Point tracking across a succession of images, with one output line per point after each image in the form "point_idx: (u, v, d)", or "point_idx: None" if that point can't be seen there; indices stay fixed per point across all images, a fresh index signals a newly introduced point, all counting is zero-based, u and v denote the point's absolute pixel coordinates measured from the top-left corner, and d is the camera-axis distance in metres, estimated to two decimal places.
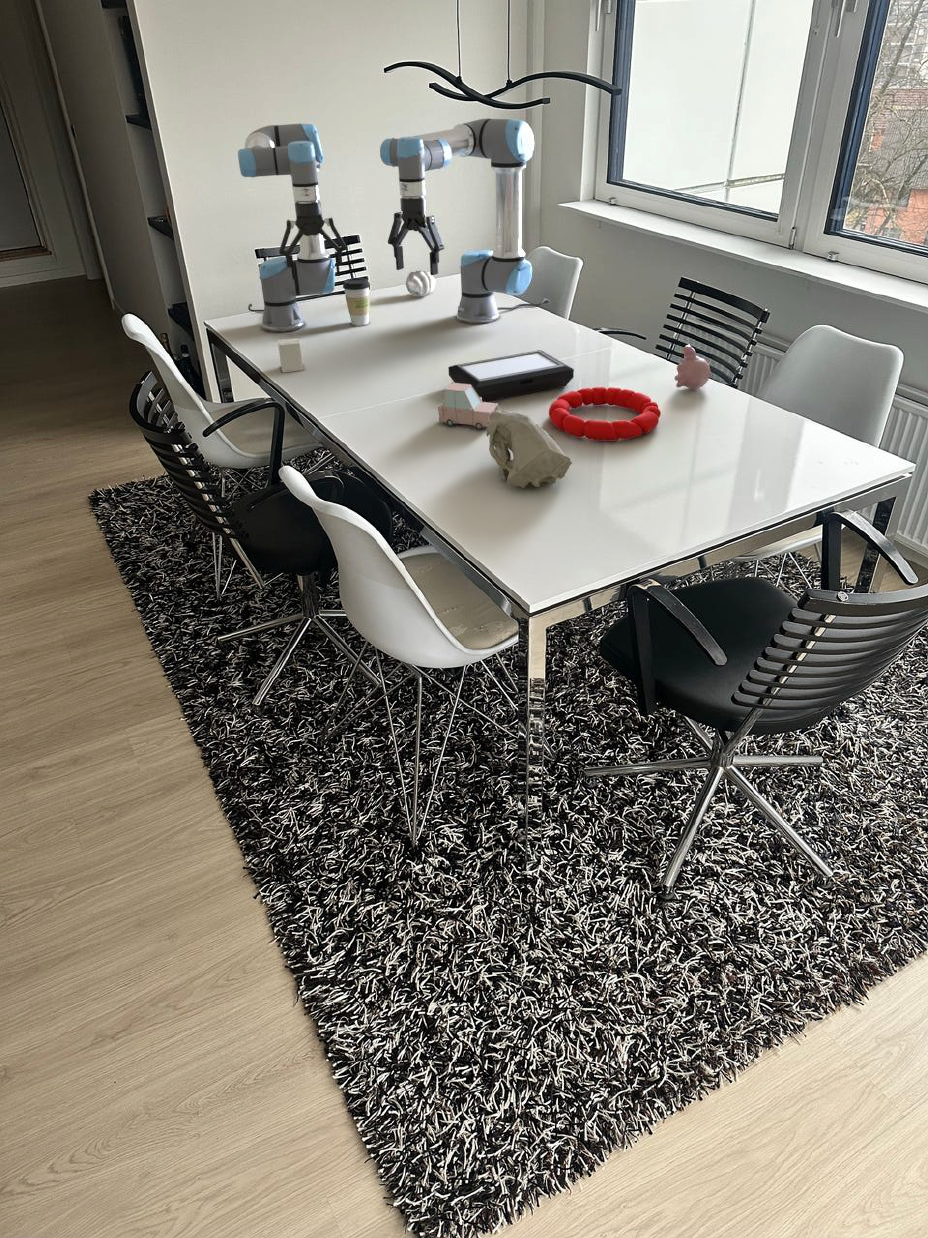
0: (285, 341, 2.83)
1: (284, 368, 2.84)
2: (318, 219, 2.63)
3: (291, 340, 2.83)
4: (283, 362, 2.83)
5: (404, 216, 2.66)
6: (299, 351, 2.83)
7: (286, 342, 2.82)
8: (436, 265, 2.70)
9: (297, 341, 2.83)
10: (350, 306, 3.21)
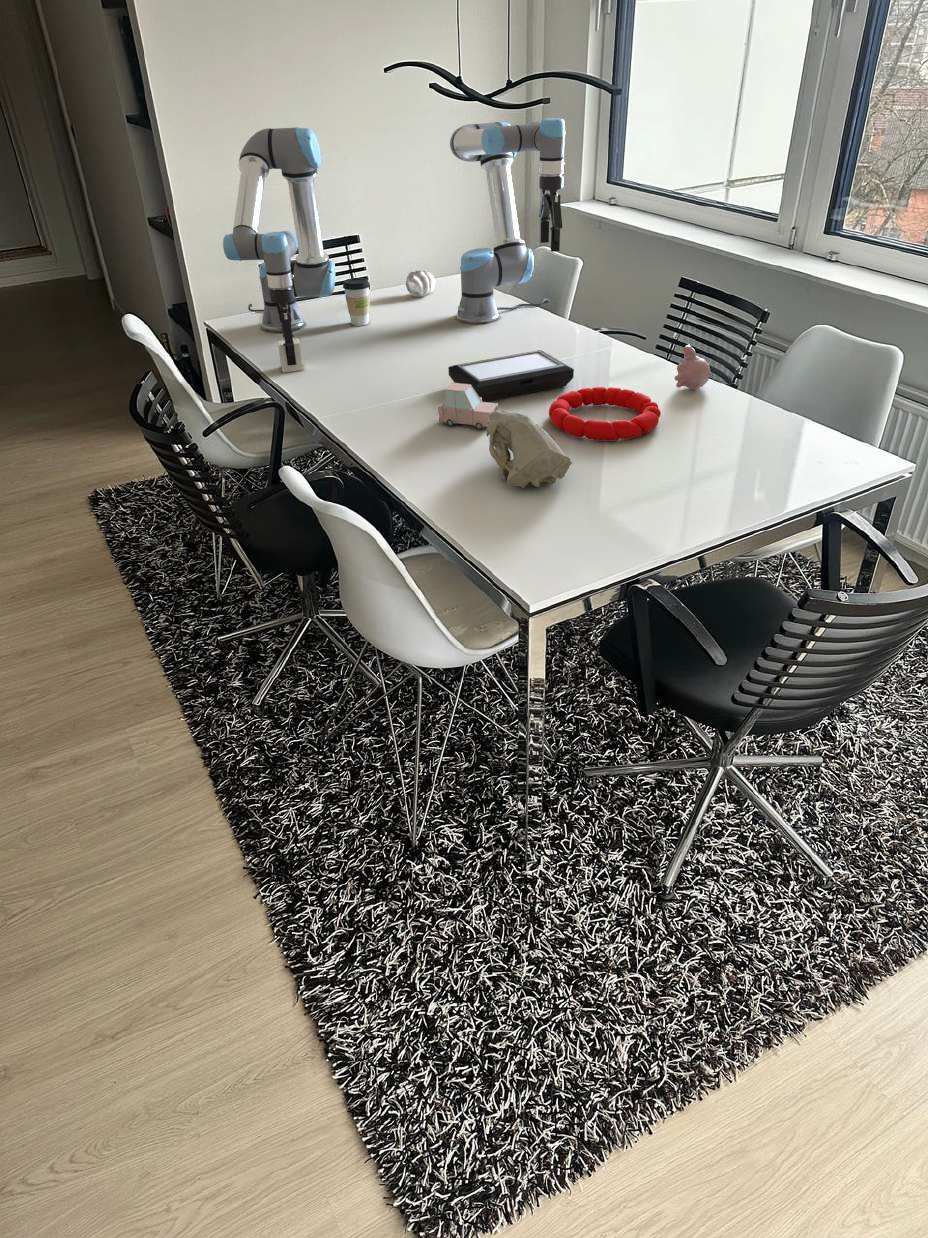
0: None
1: (284, 368, 2.84)
2: None
3: None
4: (283, 362, 2.83)
5: None
6: (299, 351, 2.83)
7: None
8: None
9: (297, 341, 2.83)
10: (350, 306, 3.21)
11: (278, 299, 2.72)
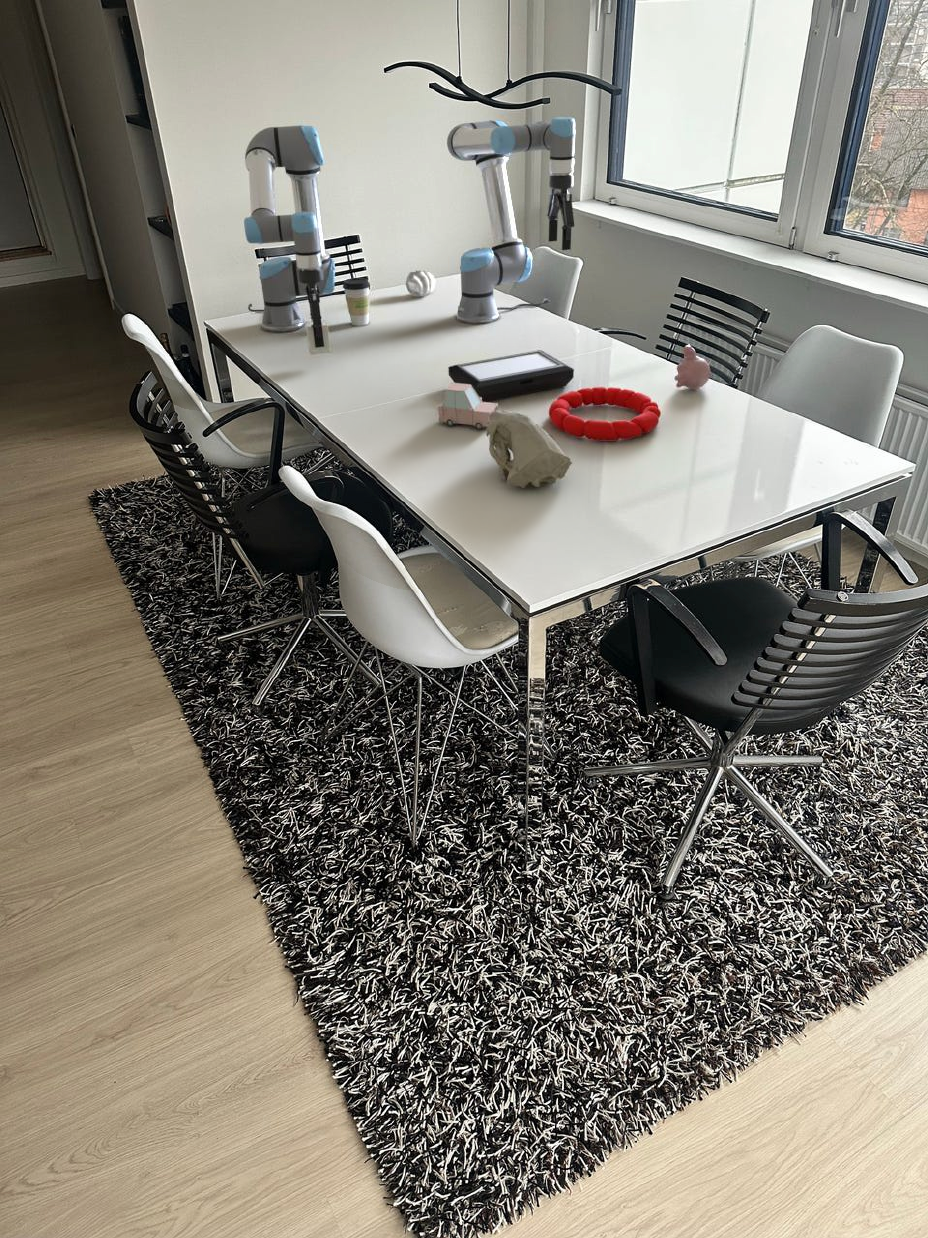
0: None
1: (312, 350, 2.82)
2: None
3: None
4: (311, 344, 2.81)
5: None
6: (327, 333, 2.80)
7: None
8: None
9: (325, 323, 2.81)
10: (350, 306, 3.21)
11: (307, 280, 2.70)
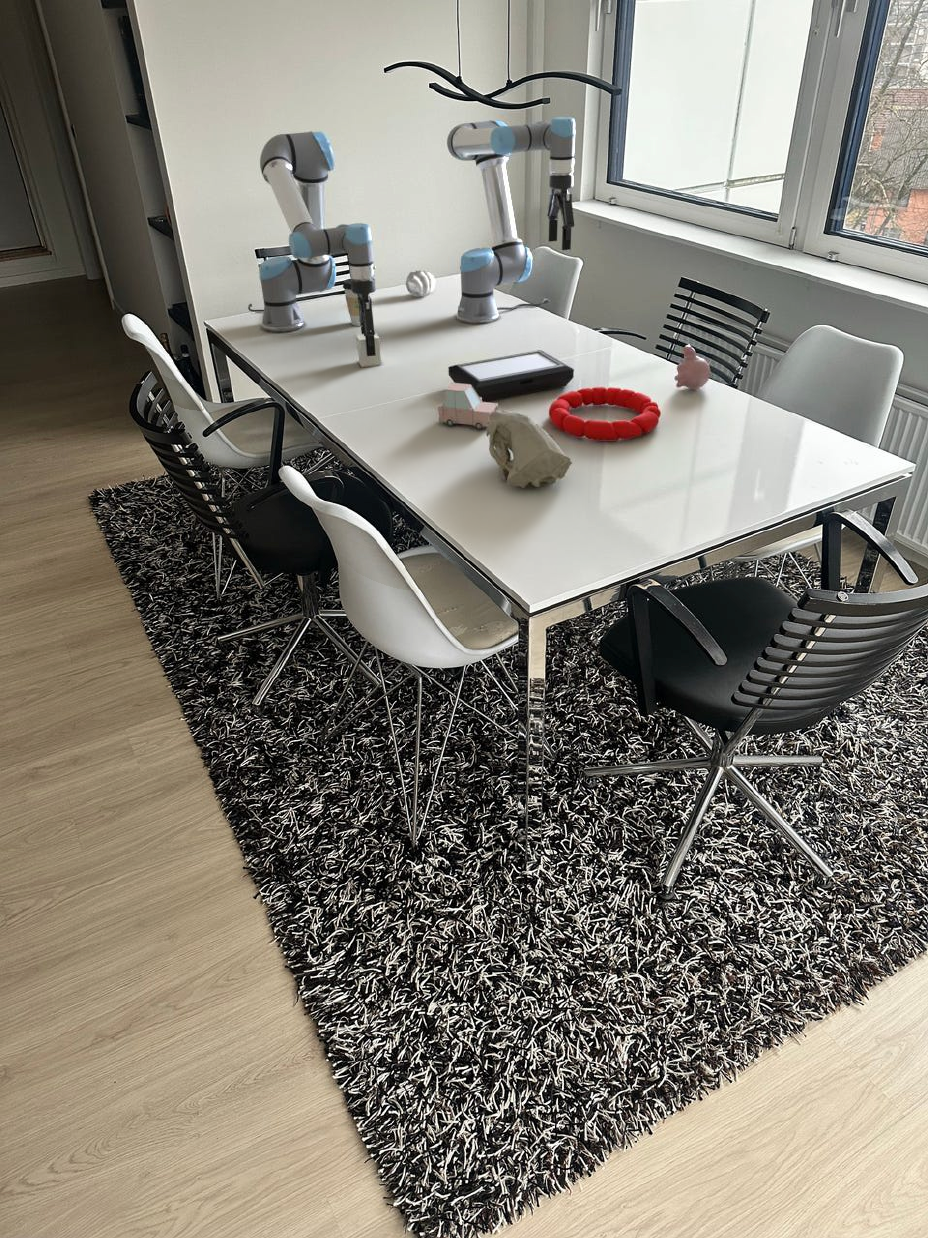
0: (364, 336, 2.85)
1: (363, 362, 2.87)
2: None
3: None
4: (362, 356, 2.86)
5: None
6: (378, 346, 2.85)
7: None
8: None
9: (376, 336, 2.85)
10: (350, 306, 3.21)
11: (360, 290, 2.74)
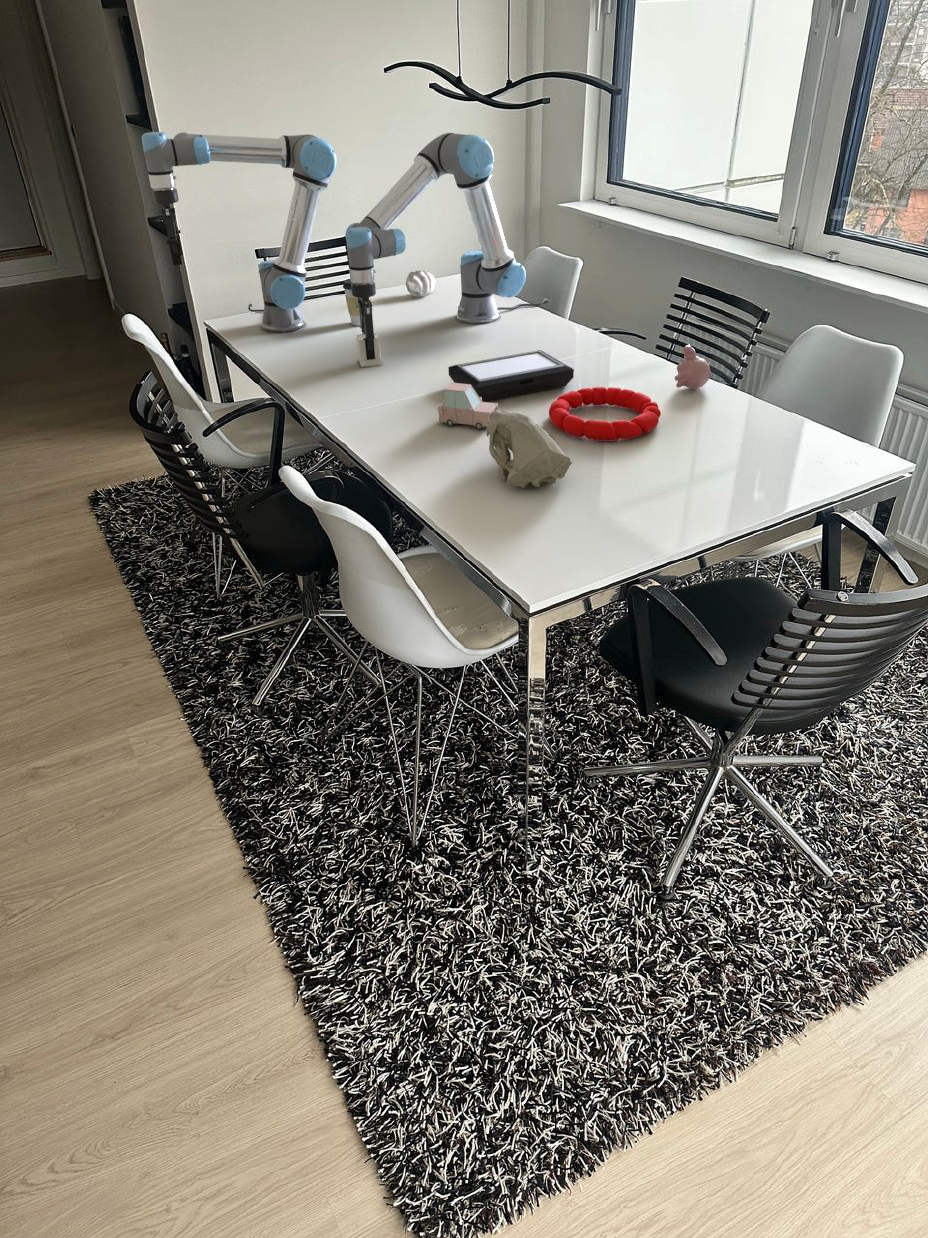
0: (364, 336, 2.85)
1: (363, 362, 2.87)
2: (171, 204, 2.84)
3: None
4: (362, 356, 2.86)
5: None
6: (378, 346, 2.85)
7: None
8: None
9: (376, 336, 2.85)
10: (350, 306, 3.21)
11: (161, 200, 2.77)
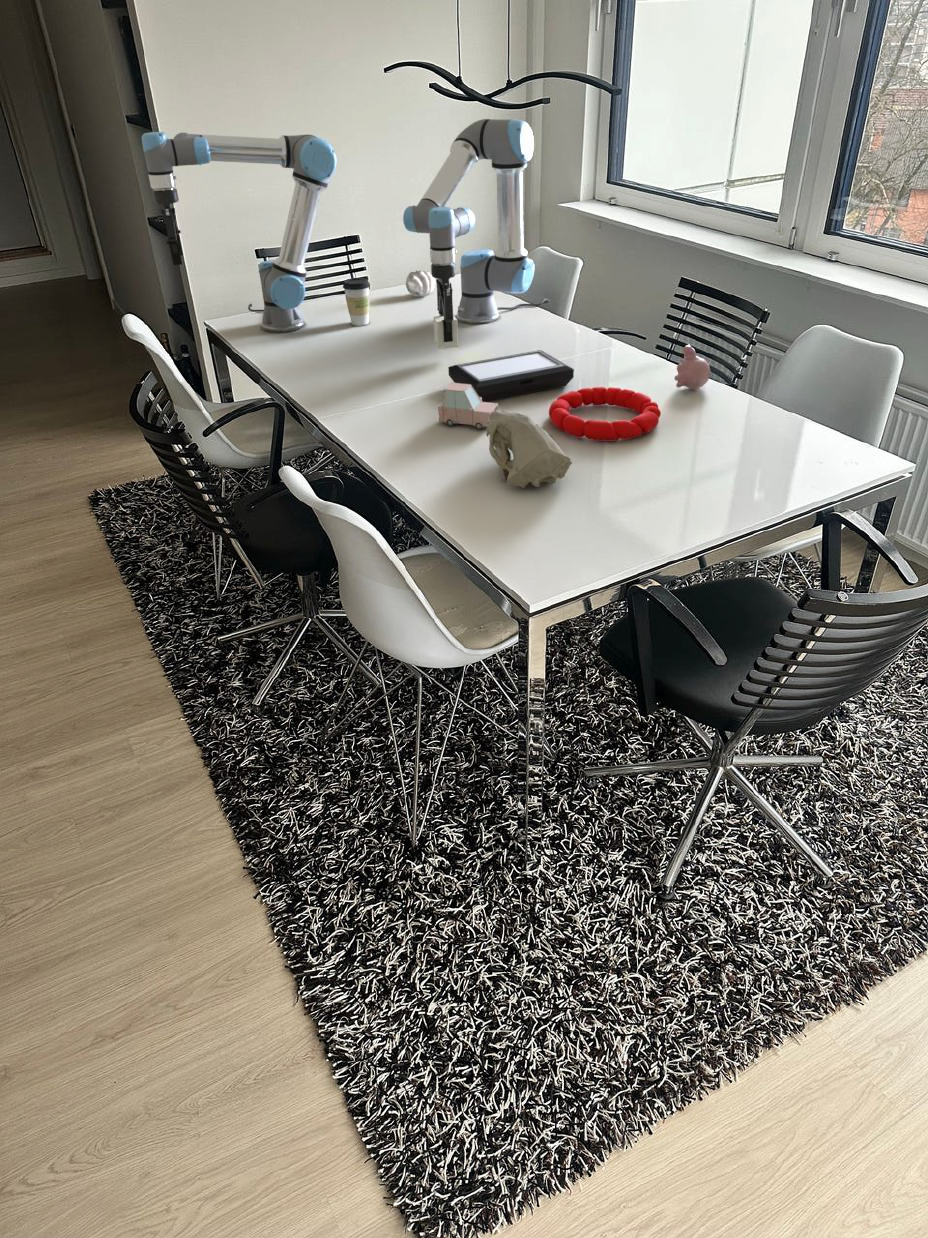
0: (442, 318, 2.83)
1: (440, 345, 2.84)
2: (171, 204, 2.84)
3: None
4: (439, 339, 2.83)
5: None
6: (456, 328, 2.82)
7: (443, 318, 2.82)
8: None
9: (454, 318, 2.83)
10: (350, 306, 3.21)
11: (161, 200, 2.77)
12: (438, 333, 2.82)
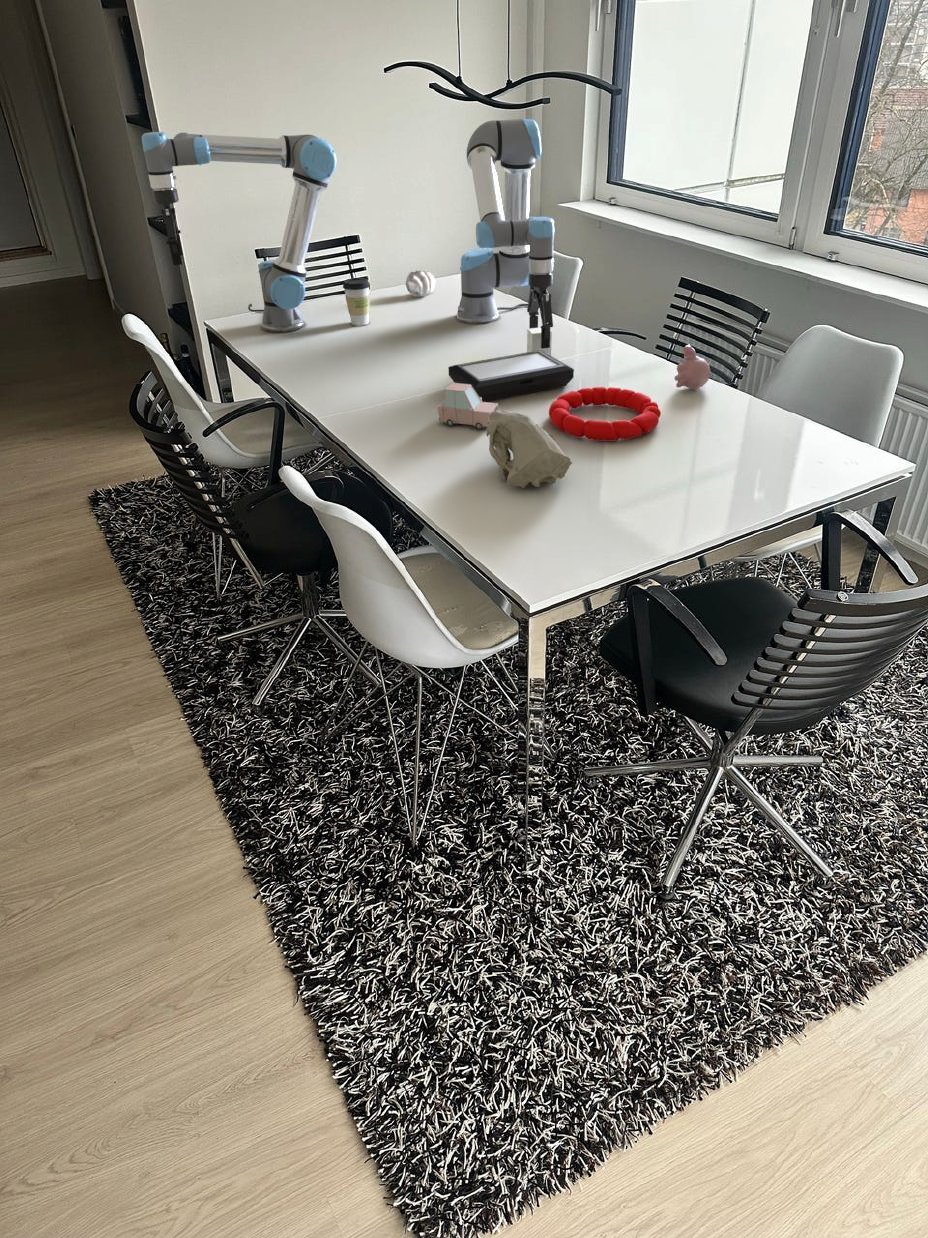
0: (536, 330, 2.85)
1: None
2: (171, 204, 2.84)
3: None
4: (534, 350, 2.86)
5: None
6: (550, 339, 2.85)
7: (537, 330, 2.85)
8: None
9: None
10: (350, 306, 3.21)
11: (161, 200, 2.77)
12: (533, 345, 2.85)
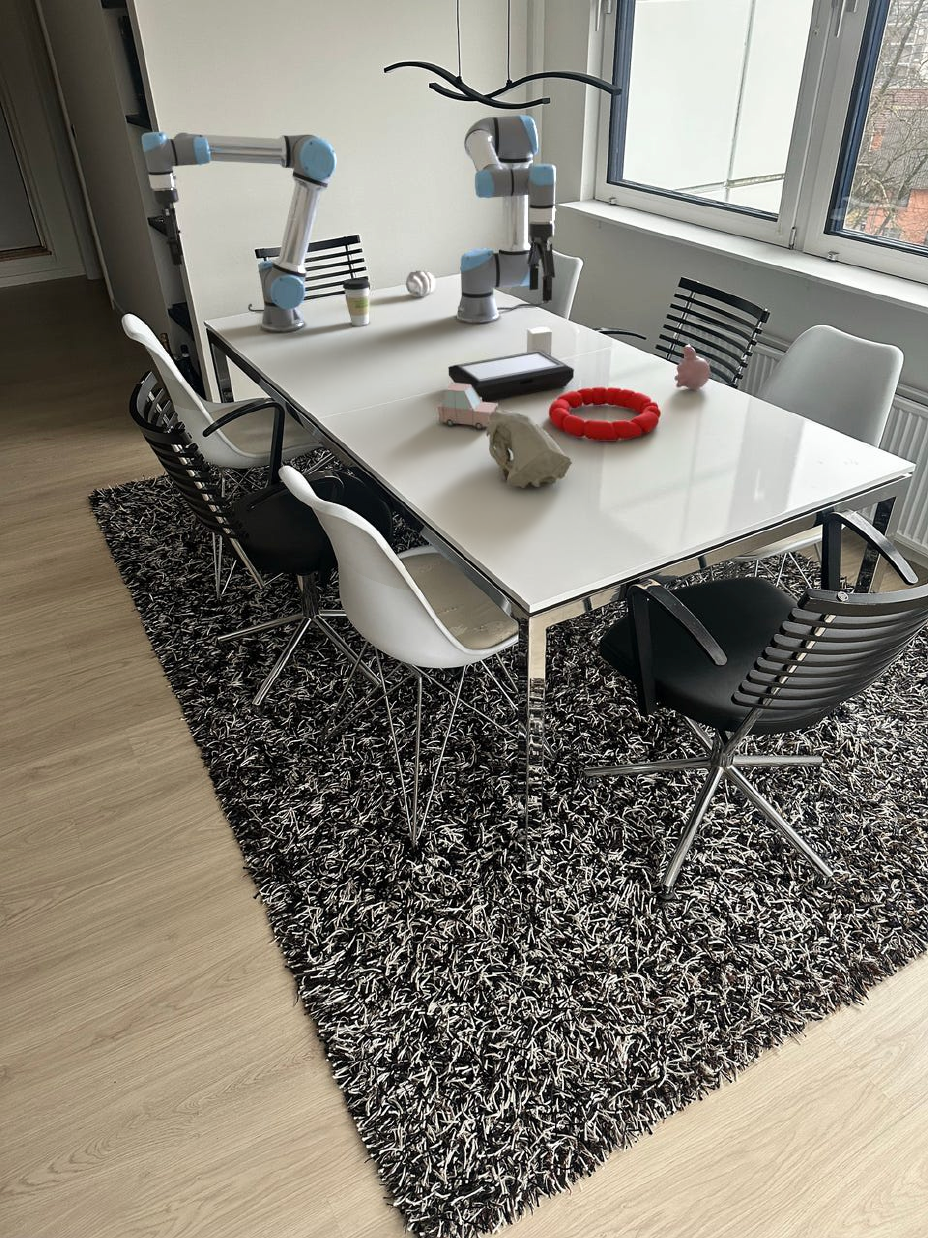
0: (536, 330, 2.85)
1: None
2: (171, 204, 2.84)
3: (542, 329, 2.86)
4: (534, 350, 2.86)
5: None
6: (550, 339, 2.85)
7: (537, 330, 2.85)
8: None
9: (548, 329, 2.85)
10: (350, 306, 3.21)
11: (161, 200, 2.77)
12: (533, 345, 2.85)
